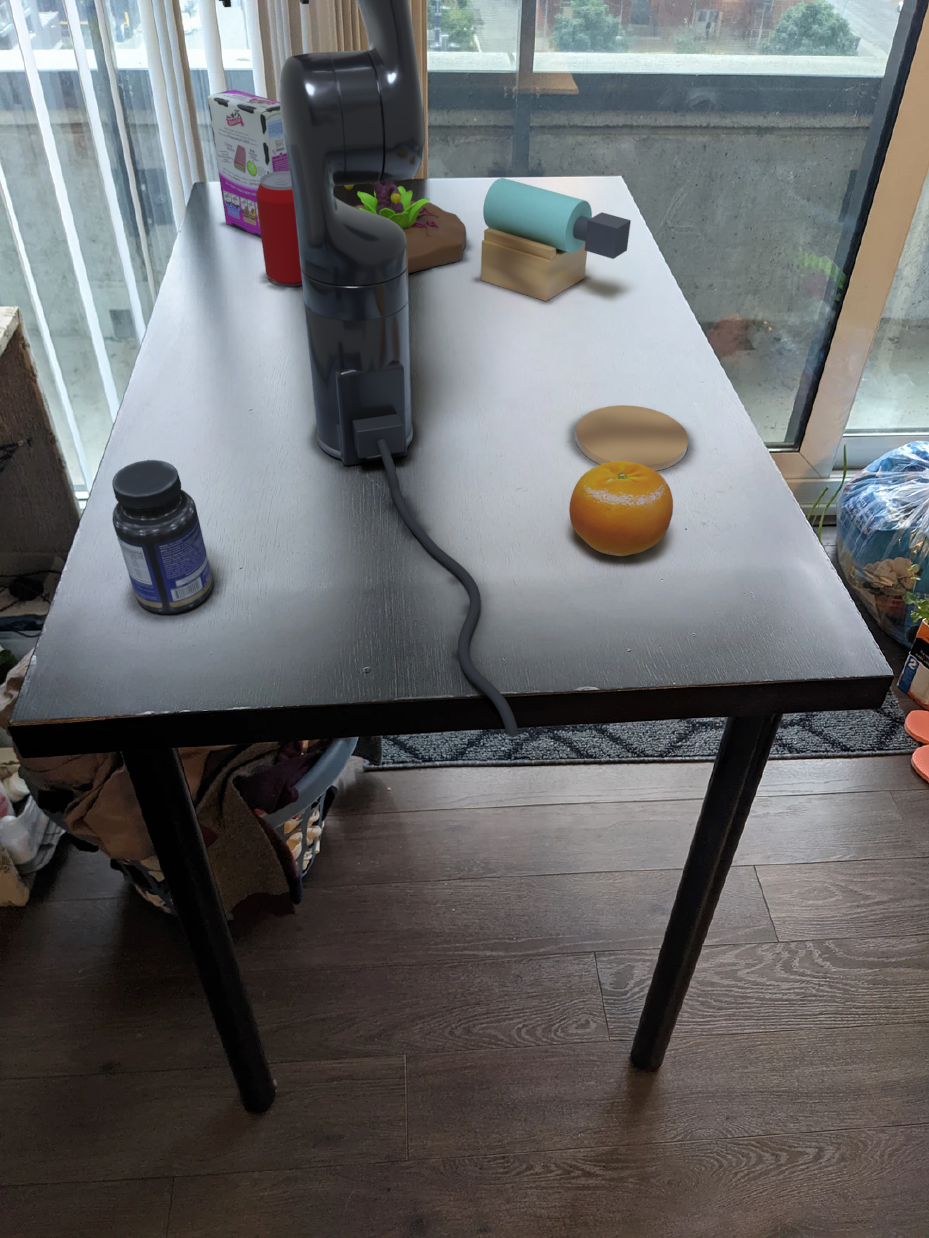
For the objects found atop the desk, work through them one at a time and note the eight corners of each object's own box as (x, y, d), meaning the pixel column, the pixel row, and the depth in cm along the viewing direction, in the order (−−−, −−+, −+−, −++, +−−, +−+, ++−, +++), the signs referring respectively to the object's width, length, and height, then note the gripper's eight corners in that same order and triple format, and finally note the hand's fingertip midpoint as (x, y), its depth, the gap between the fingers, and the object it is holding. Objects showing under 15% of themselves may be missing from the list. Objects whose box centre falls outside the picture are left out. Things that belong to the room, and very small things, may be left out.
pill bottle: (215, 564, 79) (191, 451, 71) (212, 613, 74) (186, 498, 67) (139, 570, 78) (107, 456, 71) (131, 620, 74) (95, 505, 66)
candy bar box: (304, 235, 131) (292, 104, 120) (277, 245, 128) (261, 112, 117) (251, 214, 136) (234, 87, 125) (224, 224, 133) (204, 94, 122)
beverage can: (325, 268, 123) (317, 170, 115) (313, 290, 118) (304, 190, 110) (273, 265, 123) (262, 168, 115) (260, 287, 118) (247, 187, 110)
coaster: (707, 462, 91) (708, 455, 91) (602, 480, 89) (603, 473, 88) (656, 405, 99) (657, 398, 98) (558, 421, 96) (559, 414, 96)
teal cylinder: (631, 257, 115) (638, 206, 110) (606, 273, 111) (612, 221, 107) (509, 221, 122) (512, 172, 118) (482, 235, 119) (483, 185, 115)
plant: (489, 262, 125) (492, 173, 117) (347, 284, 119) (340, 192, 112) (434, 210, 138) (433, 127, 131) (303, 227, 133) (295, 141, 125)
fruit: (623, 458, 85) (627, 421, 77) (689, 526, 83) (699, 495, 75) (551, 518, 85) (548, 487, 77) (615, 588, 83) (619, 563, 75)
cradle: (584, 278, 122) (589, 229, 118) (545, 301, 117) (549, 251, 112) (520, 258, 126) (523, 210, 122) (480, 280, 121) (481, 231, 117)
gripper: (175, -187, 89) (204, 15, 100) (324, -186, 93) (337, 8, 104) (167, -191, 94) (196, 1, 105) (309, -190, 98) (322, -5, 109)
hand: (266, 4), depth 104 cm, fingers open, 8 cm apart
